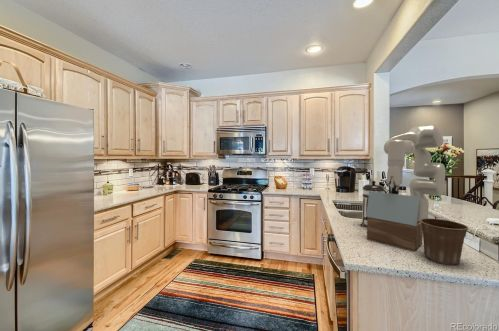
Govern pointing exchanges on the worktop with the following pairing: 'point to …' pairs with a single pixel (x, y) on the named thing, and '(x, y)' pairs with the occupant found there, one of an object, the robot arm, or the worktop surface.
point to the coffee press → (366, 190)
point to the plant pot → (443, 240)
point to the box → (395, 233)
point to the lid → (393, 207)
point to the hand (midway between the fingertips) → (394, 198)
